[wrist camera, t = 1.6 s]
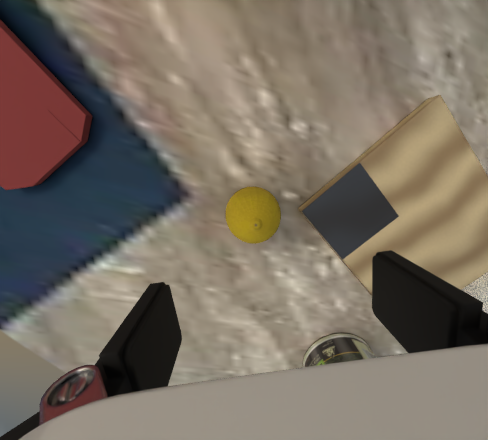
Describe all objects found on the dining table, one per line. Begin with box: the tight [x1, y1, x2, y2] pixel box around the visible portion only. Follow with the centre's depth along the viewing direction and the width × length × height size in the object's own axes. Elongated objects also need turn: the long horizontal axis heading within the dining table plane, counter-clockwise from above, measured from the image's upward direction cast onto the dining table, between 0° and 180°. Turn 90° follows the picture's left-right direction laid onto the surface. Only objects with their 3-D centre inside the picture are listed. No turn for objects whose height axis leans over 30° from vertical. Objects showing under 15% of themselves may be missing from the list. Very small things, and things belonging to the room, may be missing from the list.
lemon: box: [226, 187, 281, 243], centre depth 23 cm, size 6×6×8 cm
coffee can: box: [303, 333, 376, 367], centre depth 27 cm, size 10×10×14 cm
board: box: [298, 95, 488, 295], centre depth 27 cm, size 22×18×2 cm
